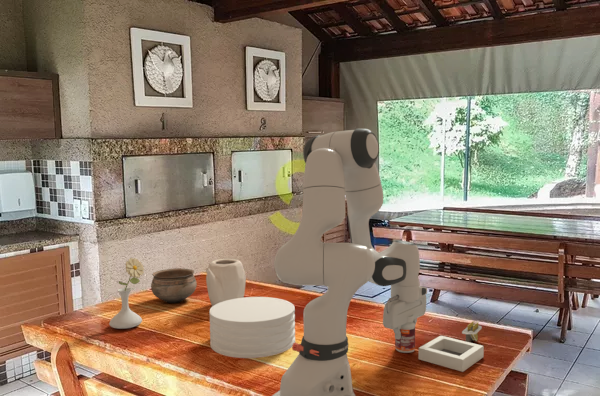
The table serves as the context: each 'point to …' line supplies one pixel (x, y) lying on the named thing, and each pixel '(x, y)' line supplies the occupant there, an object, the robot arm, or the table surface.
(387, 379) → the table surface
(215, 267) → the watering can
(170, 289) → the cooking pot
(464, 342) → the holder block
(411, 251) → the robot arm
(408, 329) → the pill bottle
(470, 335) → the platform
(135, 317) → the flower in vase
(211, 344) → the plate stack
